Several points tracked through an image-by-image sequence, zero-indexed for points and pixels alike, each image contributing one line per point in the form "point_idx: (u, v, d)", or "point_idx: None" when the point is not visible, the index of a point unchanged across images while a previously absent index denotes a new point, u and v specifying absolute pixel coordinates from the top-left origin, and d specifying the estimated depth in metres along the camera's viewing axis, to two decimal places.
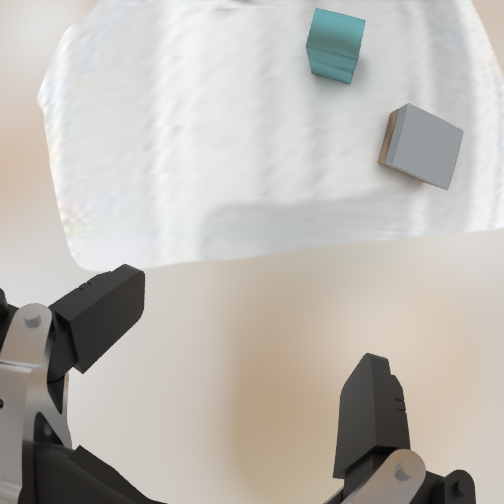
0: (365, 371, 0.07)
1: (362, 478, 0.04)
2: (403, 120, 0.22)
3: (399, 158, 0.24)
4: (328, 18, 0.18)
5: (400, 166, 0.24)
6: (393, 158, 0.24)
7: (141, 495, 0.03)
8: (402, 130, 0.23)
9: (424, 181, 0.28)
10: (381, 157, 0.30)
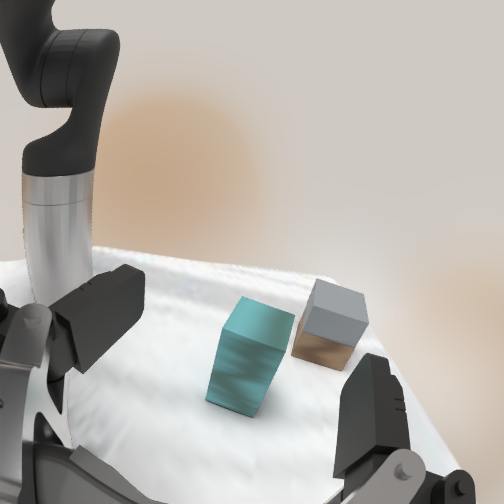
0: (365, 371, 0.07)
1: (363, 478, 0.04)
2: (328, 313, 0.30)
3: (361, 318, 0.30)
4: (241, 322, 0.21)
5: (366, 318, 0.30)
6: (362, 324, 0.29)
7: (141, 495, 0.03)
8: (338, 313, 0.30)
9: None
10: (341, 361, 0.32)
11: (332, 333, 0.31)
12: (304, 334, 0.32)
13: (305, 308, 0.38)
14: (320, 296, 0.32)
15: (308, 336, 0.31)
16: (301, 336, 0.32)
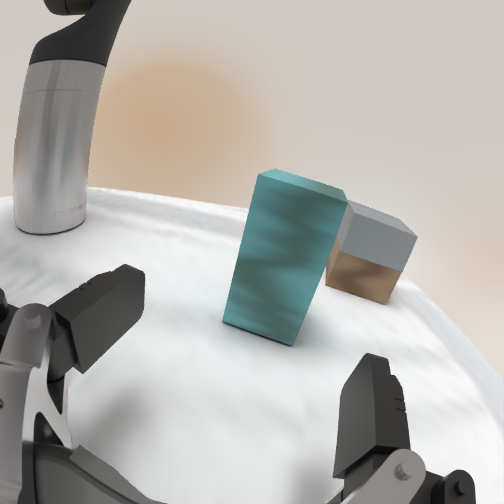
0: (365, 371, 0.07)
1: (362, 478, 0.04)
2: (372, 223, 0.24)
3: (408, 231, 0.24)
4: (281, 177, 0.16)
5: (412, 233, 0.24)
6: (410, 237, 0.24)
7: (141, 495, 0.03)
8: (383, 223, 0.24)
9: None
10: (385, 290, 0.26)
11: (377, 251, 0.25)
12: (342, 252, 0.26)
13: None
14: (357, 209, 0.26)
15: (347, 255, 0.26)
16: (339, 255, 0.26)
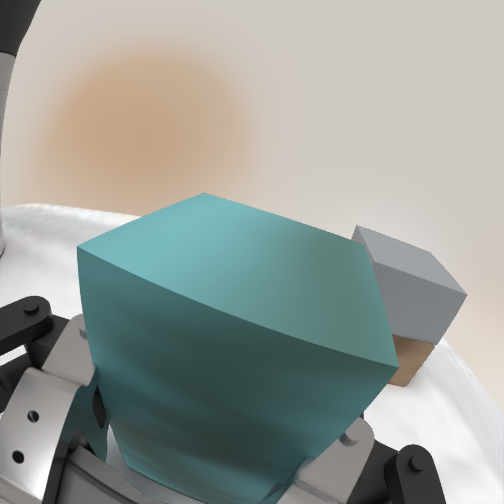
0: None
1: None
2: (402, 278, 0.13)
3: (453, 286, 0.13)
4: (174, 237, 0.05)
5: (459, 286, 0.14)
6: (456, 297, 0.13)
7: (141, 495, 0.03)
8: (420, 277, 0.13)
9: None
10: (408, 370, 0.15)
11: (404, 320, 0.14)
12: None
13: None
14: (377, 248, 0.16)
15: None
16: None
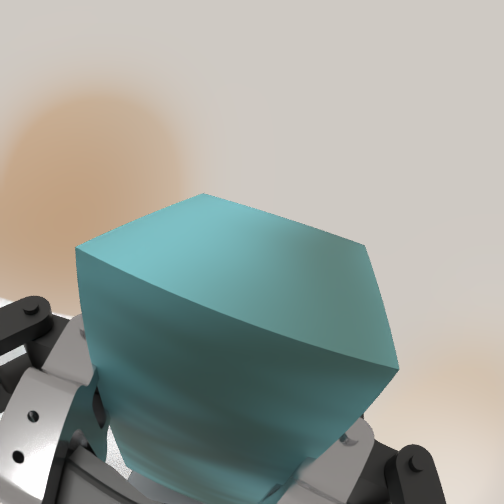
0: None
1: None
2: None
3: None
4: (173, 238, 0.05)
5: None
6: None
7: (141, 495, 0.03)
8: None
9: None
10: None
11: None
12: None
13: None
14: None
15: None
16: None
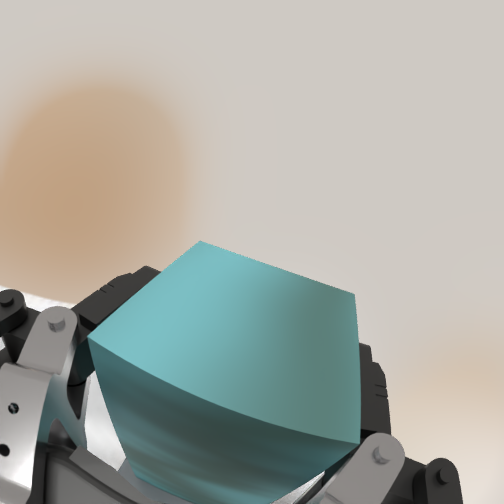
0: None
1: (341, 461, 0.05)
2: None
3: None
4: (173, 317, 0.05)
5: None
6: None
7: (141, 495, 0.03)
8: None
9: None
10: None
11: None
12: None
13: None
14: None
15: None
16: None
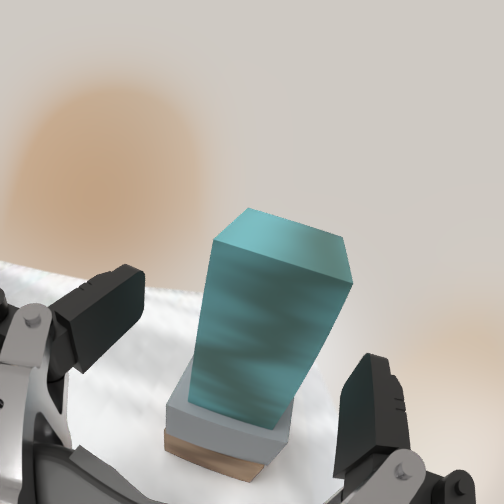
0: (365, 371, 0.07)
1: (362, 478, 0.04)
2: (198, 420, 0.13)
3: (272, 431, 0.13)
4: (252, 234, 0.11)
5: (285, 429, 0.13)
6: (272, 442, 0.13)
7: (141, 495, 0.03)
8: (219, 423, 0.13)
9: None
10: (244, 474, 0.15)
11: (218, 445, 0.14)
12: None
13: None
14: None
15: None
16: (166, 434, 0.15)
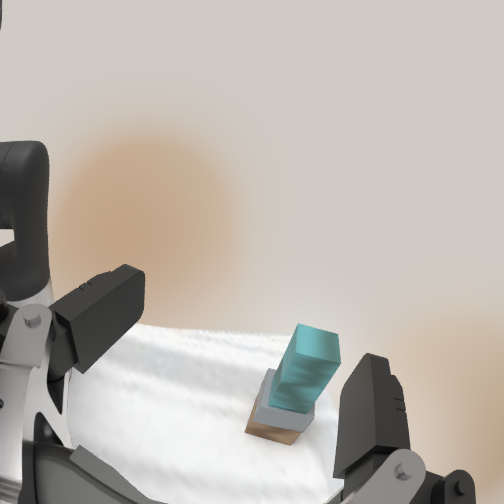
0: (365, 371, 0.07)
1: (362, 478, 0.04)
2: (275, 411, 0.30)
3: (307, 413, 0.30)
4: (305, 345, 0.27)
5: (312, 412, 0.30)
6: (307, 418, 0.30)
7: (141, 495, 0.03)
8: (284, 411, 0.30)
9: None
10: (289, 439, 0.32)
11: (280, 423, 0.31)
12: None
13: None
14: (269, 393, 0.32)
15: None
16: (251, 422, 0.32)
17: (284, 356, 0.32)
